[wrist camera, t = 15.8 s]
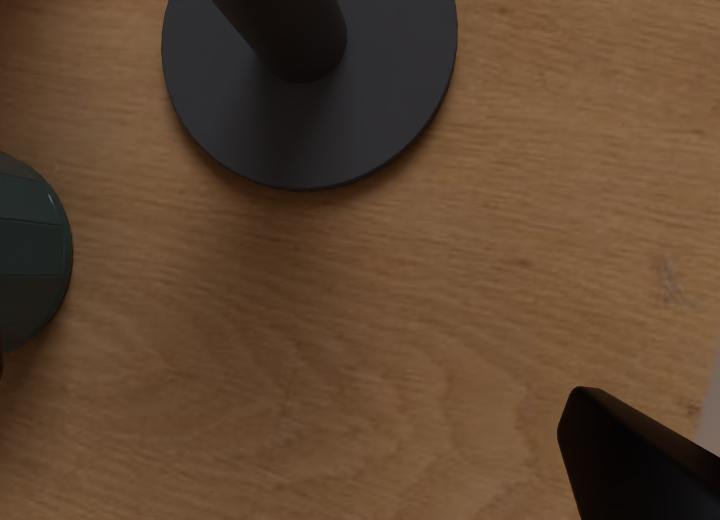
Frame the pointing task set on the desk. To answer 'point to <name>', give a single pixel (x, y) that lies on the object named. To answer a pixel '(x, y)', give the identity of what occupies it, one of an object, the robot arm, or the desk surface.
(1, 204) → the pen cup
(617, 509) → the robot arm
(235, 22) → the marker
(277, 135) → the felt pad
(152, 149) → the desk surface
